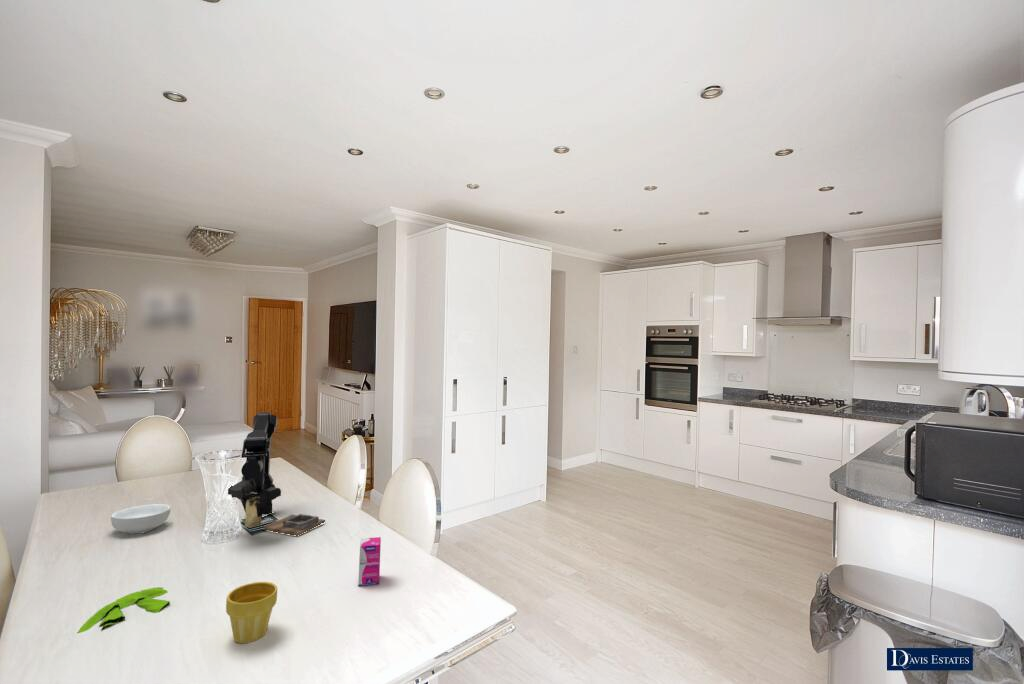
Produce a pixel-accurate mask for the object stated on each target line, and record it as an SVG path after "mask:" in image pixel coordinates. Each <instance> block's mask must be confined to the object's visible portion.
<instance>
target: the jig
mask: <svg viewBox="0 0 1024 684" xmlns="http://www.w3.org/2000/svg"><path fill="white" fill-rule="evenodd" d="M324 522H325V523H326V520H325V519H322V518H320V517H319V516H316V515H311V514H304V513H300V514H297V515H296V514H289V515H287V516H285V517H283V518H281V519H280V518H279V520H276V521H273V522H271V523H268V524H266V525H263V526H262V529H263V528H265V529H267V530H269V531H273V532H278V533H284V534H290V535H296V536H298V535H300V534H302V533H304V532H306V531H308V530H310V529H312V528H314V527H316V526H318V525H320V524H321V523H324Z"/></svg>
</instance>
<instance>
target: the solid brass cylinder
mask: <svg viewBox="0 0 1024 684" xmlns="http://www.w3.org/2000/svg"><path fill="white" fill-rule="evenodd" d="M257 498H259V497H251V498H248V499H246V513H245V516H244V517H245V521H244V527H245V528H255V527H258V526H261V525H262V518H261V517H262V515H261V516H260V517H258V514H257V502H256V501H255V500H254V499H257Z"/></svg>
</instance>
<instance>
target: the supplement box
mask: <svg viewBox="0 0 1024 684" xmlns="http://www.w3.org/2000/svg"><path fill="white" fill-rule="evenodd" d="M381 538H382V537H381V536H377V537H376V536H375V537H366V538H365V537H364V538H360V541H359V542H360V543H359V558H358V559H359V561H358V562H359V563H358V564H359V565H358V580H357V581H358V587H363V586H371V585H372V586H373V585H379V584H380V574H381V572H380V568H381V541H382V539H381Z"/></svg>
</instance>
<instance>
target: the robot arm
mask: <svg viewBox="0 0 1024 684" xmlns="http://www.w3.org/2000/svg"><path fill="white" fill-rule="evenodd" d="M278 419H279V418H278V416H277V415H275V414H272V412H269V411H267V412H257V413H256V414H255V415H253V420H252V427H253V428H252V431H251V432H249V433H248V434H247V435H246V438H245V439H244V440H243V444H242V451H241V459H242V458H244V459H246V460H245V463H243V465H242V467H241V470H240V471H241V474H242V477H241V481H238V482H237V483H235V484H233V485H234V486H232V485H230V486H231V487H230V486H229V487H230V488H229V487H228V488H227V495H229V496H231V498H233V499H234V498H236V499H238V500H239V501H240V502H241V505H242V507H243V510H244V512H245V514H246V499H248V498H251V497H259V498H257V499H254V500H255V501H256V502H257V514H258V517H260V516H261V515H262V514H269V513H272V511H273V501H274V500H276V499H277V498H279V497H281V496H282V490H281V488H280V487H276V485H275V484H274V479H273V477H272V476H271V473H270V467H271V466H270V463H271V446H272V445H271V443H272V436H273V435H274V434H275V432H276V428H277V427H278V421H279V420H278Z"/></svg>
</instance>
